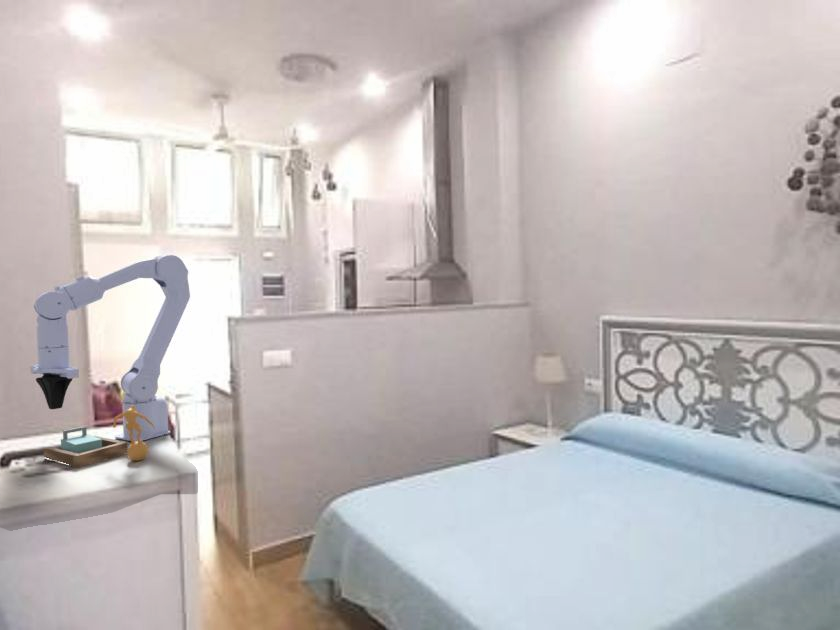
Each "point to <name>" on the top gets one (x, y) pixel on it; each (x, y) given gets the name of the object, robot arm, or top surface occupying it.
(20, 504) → the top surface
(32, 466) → the top surface
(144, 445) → the figurine
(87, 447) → the mint block
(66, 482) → the top surface
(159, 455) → the top surface
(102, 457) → the dock
